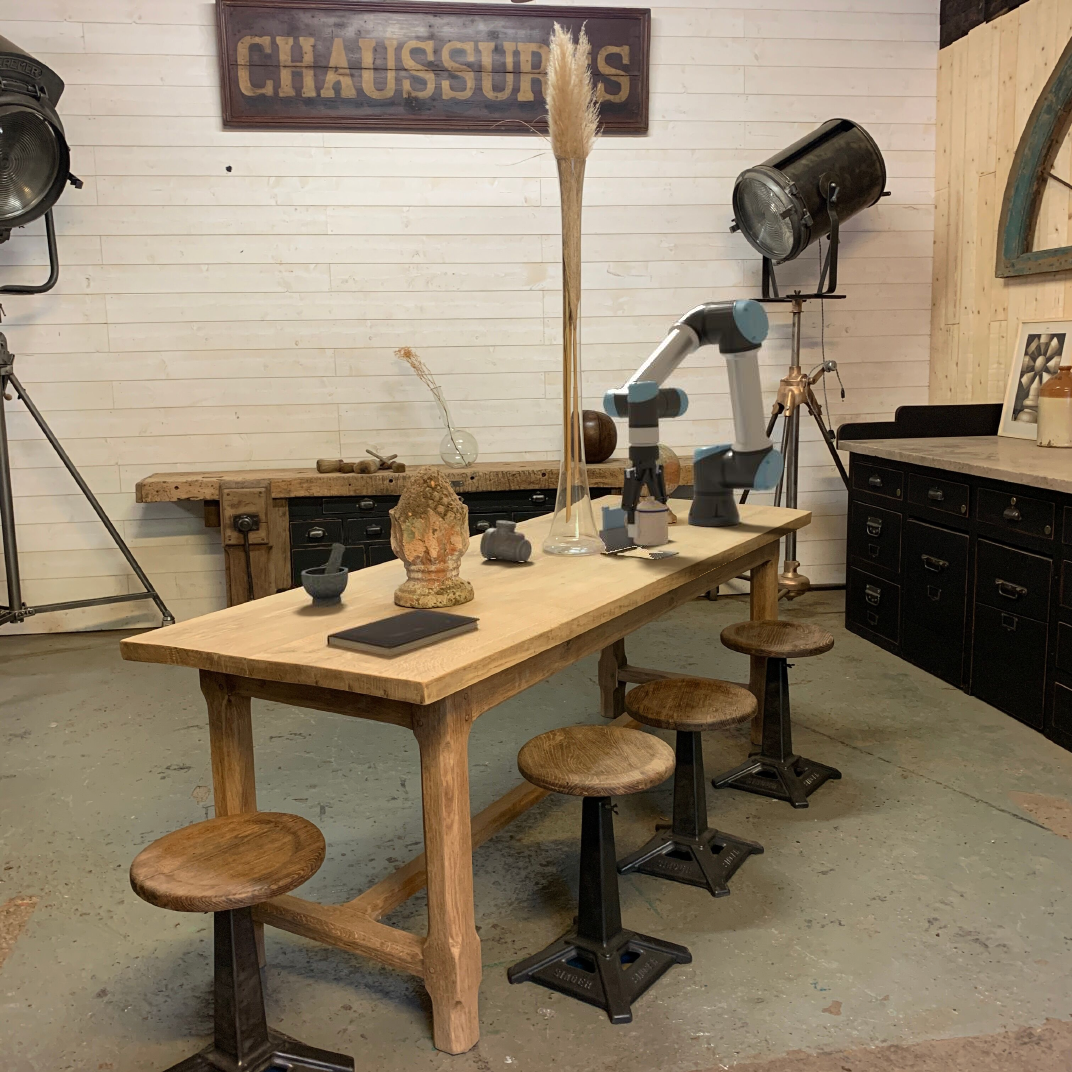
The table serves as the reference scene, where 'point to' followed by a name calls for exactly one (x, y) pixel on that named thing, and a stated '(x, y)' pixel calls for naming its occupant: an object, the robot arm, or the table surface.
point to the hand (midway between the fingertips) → (645, 534)
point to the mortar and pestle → (327, 580)
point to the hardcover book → (403, 631)
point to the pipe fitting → (505, 543)
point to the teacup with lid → (651, 522)
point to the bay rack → (624, 541)
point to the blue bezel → (613, 517)
